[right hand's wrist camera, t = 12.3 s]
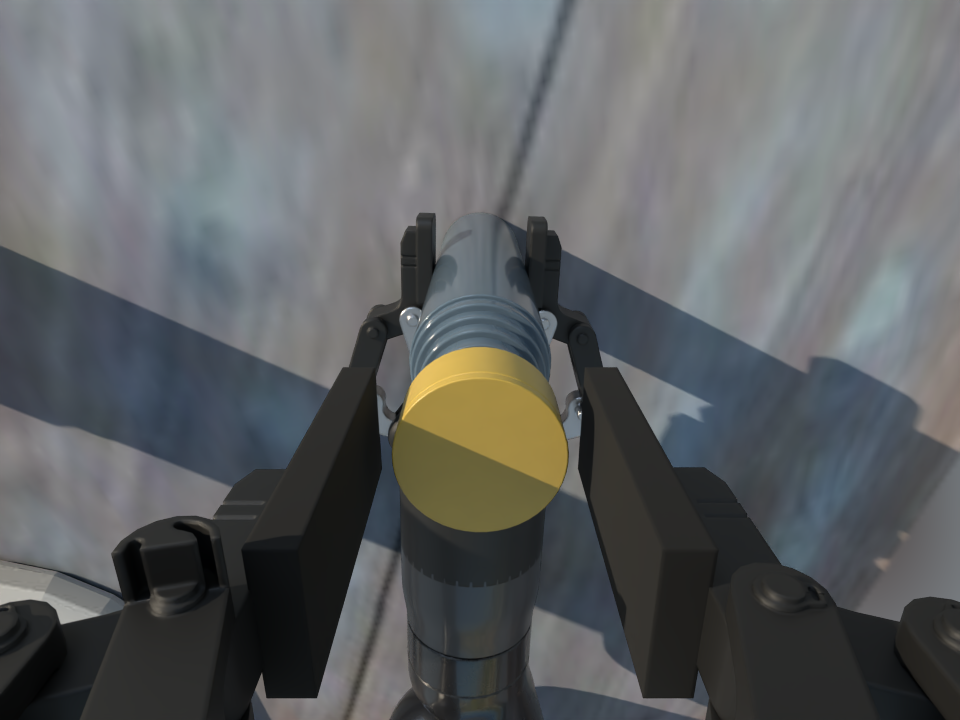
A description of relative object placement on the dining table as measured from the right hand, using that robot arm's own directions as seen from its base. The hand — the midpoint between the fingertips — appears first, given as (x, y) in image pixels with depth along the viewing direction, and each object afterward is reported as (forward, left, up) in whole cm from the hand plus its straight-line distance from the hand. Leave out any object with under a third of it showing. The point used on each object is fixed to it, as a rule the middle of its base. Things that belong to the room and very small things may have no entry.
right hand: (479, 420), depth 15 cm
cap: (0, 0, +2) cm, 2 cm away
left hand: (-1, -3, -14) cm, 14 cm away
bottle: (0, 0, -21) cm, 21 cm away
